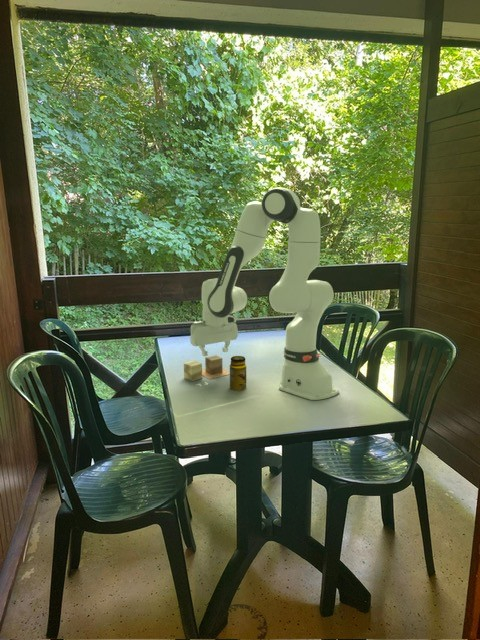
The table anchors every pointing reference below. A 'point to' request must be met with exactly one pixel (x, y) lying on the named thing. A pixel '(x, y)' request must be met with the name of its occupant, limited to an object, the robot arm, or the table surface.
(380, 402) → the table surface
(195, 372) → the oak block
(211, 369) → the walnut block
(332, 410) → the table surface
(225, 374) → the coaster
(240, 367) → the condiment
